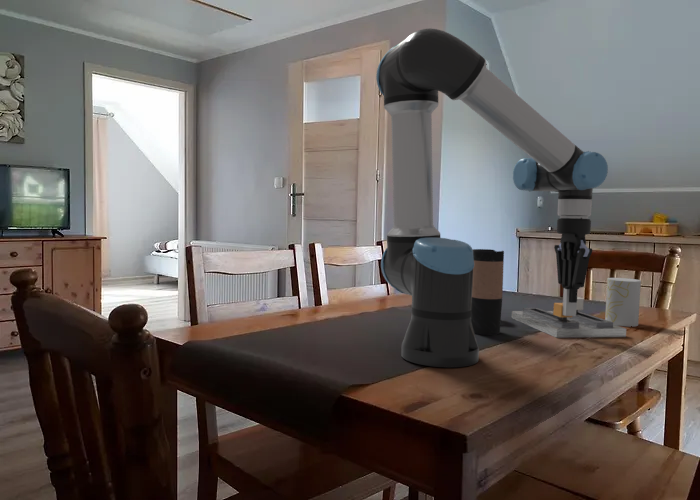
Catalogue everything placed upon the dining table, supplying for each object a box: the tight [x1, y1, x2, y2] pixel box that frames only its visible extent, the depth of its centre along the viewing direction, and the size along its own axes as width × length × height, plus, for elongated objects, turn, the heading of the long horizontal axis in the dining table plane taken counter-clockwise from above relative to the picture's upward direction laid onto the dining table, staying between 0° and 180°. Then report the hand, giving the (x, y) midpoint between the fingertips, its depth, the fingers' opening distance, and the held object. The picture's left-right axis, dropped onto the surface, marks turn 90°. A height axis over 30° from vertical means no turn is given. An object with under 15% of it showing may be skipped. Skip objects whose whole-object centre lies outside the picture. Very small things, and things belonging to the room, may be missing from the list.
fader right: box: [576, 296, 584, 315], centre depth 149 cm, size 3×4×5 cm
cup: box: [604, 277, 642, 327], centre depth 152 cm, size 8×8×12 cm
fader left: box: [552, 302, 572, 322], centre depth 138 cm, size 3×4×5 cm
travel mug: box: [471, 248, 505, 336], centre depth 136 cm, size 8×8×20 cm
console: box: [511, 307, 627, 339], centre depth 145 cm, size 18×24×3 cm
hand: (569, 315), depth 136 cm, fingers closed
